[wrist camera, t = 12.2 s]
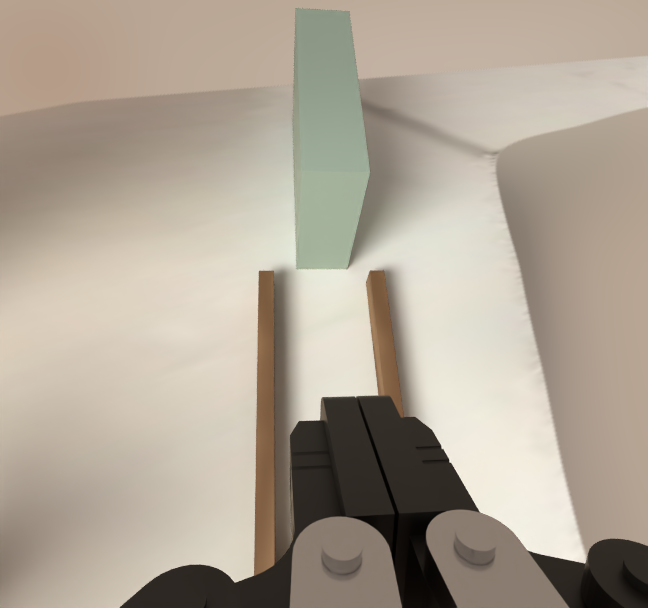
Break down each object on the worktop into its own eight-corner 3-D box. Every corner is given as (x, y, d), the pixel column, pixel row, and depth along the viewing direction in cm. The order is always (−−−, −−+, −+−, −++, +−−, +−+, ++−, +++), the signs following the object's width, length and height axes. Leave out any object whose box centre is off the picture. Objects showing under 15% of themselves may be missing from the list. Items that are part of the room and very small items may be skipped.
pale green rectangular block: (296, 269, 40) (301, 170, 29) (292, 125, 48) (295, 8, 38) (347, 269, 40) (370, 172, 30) (334, 126, 49) (349, 11, 38)
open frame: (255, 593, 28) (254, 596, 27) (259, 283, 39) (258, 270, 37) (417, 582, 29) (426, 584, 28) (379, 282, 40) (384, 270, 38)
